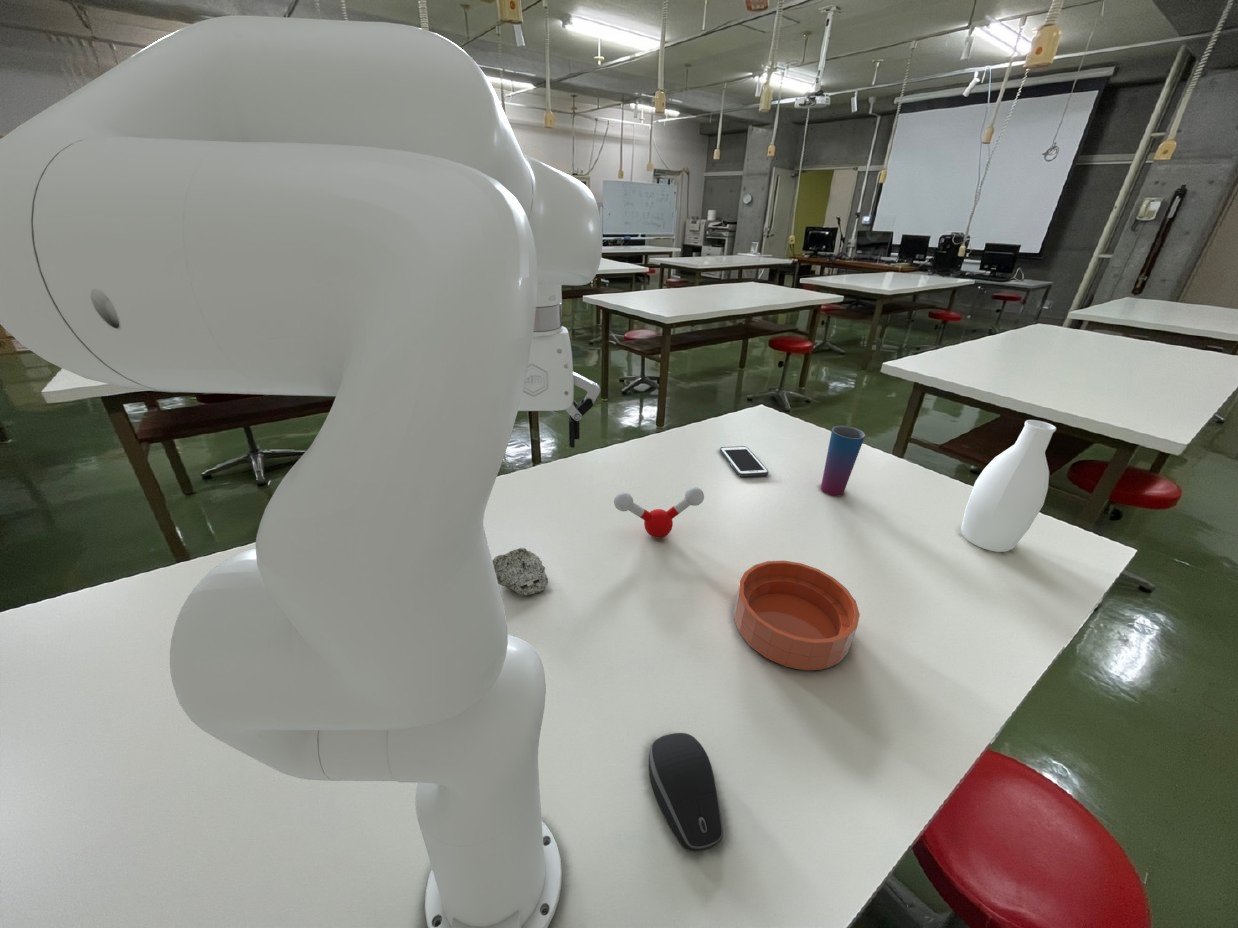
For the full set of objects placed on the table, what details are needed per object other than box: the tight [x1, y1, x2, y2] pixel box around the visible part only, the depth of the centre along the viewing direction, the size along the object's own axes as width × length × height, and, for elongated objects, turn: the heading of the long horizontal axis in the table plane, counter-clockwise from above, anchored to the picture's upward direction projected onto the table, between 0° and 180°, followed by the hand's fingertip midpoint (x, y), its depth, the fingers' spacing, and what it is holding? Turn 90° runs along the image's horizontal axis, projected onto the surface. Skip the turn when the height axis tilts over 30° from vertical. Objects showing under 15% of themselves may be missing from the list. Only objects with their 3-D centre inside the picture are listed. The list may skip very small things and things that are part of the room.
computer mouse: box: [648, 732, 724, 852], centre depth 55 cm, size 7×12×4 cm, turn 15°
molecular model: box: [613, 486, 705, 539], centre depth 96 cm, size 18×6×10 cm, turn 107°
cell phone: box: [719, 445, 769, 478], centre depth 126 cm, size 8×15×1 cm, turn 10°
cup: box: [820, 425, 866, 497], centre depth 113 cm, size 7×7×15 cm
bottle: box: [960, 419, 1057, 553], centre depth 95 cm, size 11×11×25 cm
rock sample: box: [492, 547, 549, 596], centre depth 84 cm, size 10×8×9 cm
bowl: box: [733, 560, 861, 671], centre depth 77 cm, size 17×17×6 cm
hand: (536, 444), depth 69 cm, fingers open, 9 cm apart
